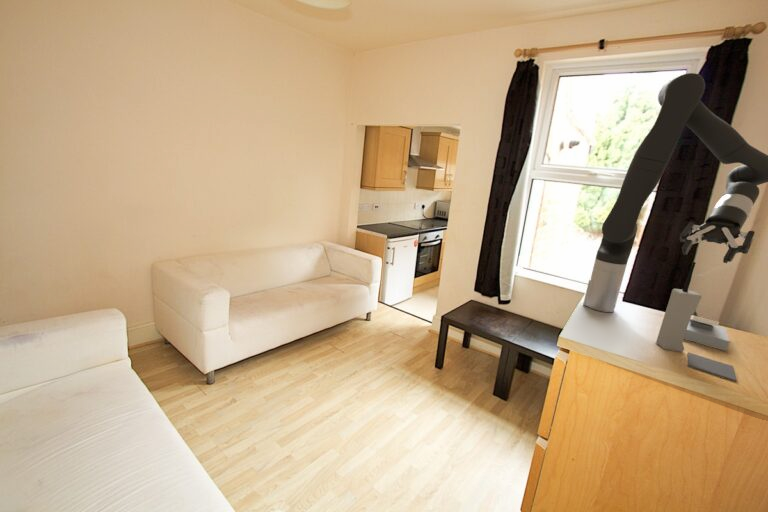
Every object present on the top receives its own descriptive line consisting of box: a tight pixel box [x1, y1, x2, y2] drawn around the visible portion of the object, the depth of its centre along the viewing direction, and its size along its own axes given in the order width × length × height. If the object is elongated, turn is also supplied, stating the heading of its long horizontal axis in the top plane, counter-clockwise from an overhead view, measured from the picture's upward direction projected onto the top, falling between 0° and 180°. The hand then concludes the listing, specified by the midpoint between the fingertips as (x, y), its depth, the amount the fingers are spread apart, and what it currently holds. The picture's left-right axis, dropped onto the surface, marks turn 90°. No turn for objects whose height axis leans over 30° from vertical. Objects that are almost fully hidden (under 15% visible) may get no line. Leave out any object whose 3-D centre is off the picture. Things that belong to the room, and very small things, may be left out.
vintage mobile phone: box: [655, 261, 703, 353], centre depth 95 cm, size 4×5×25 cm
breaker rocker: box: [690, 314, 720, 326], centre depth 107 cm, size 6×12×1 cm, turn 140°
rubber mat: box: [686, 352, 738, 383], centre depth 89 cm, size 9×9×1 cm
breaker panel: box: [683, 319, 730, 352], centre depth 107 cm, size 12×13×4 cm
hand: (704, 256), depth 95 cm, fingers open, 8 cm apart
